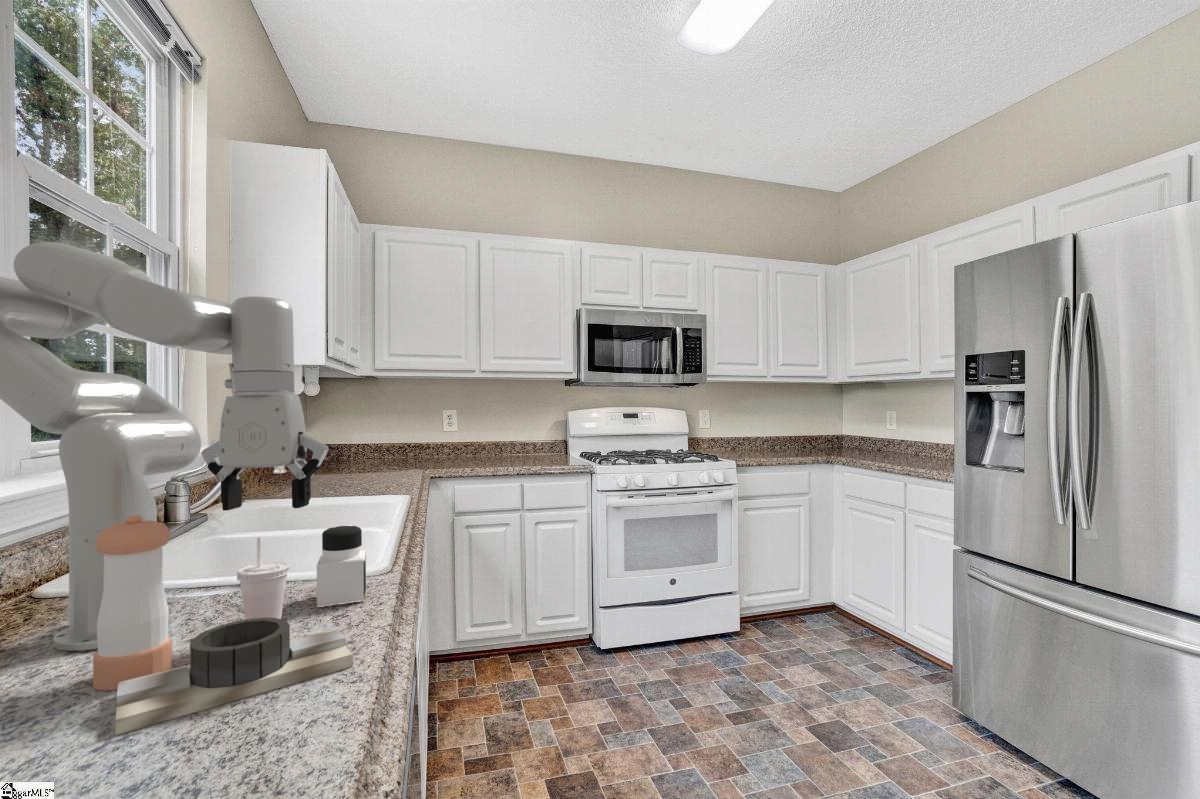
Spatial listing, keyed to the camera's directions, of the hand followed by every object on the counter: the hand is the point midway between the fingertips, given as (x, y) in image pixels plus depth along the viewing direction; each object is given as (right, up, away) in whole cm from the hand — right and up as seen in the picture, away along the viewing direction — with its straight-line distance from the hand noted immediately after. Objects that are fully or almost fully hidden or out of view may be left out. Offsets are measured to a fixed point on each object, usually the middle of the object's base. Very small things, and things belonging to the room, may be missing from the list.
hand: (266, 507), depth 78 cm
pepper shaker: (-9, -18, -11) cm, 23 cm away
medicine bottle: (+4, -19, +15) cm, 24 cm away
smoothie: (0, -18, 0) cm, 18 cm away
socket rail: (+5, -18, -13) cm, 22 cm away
